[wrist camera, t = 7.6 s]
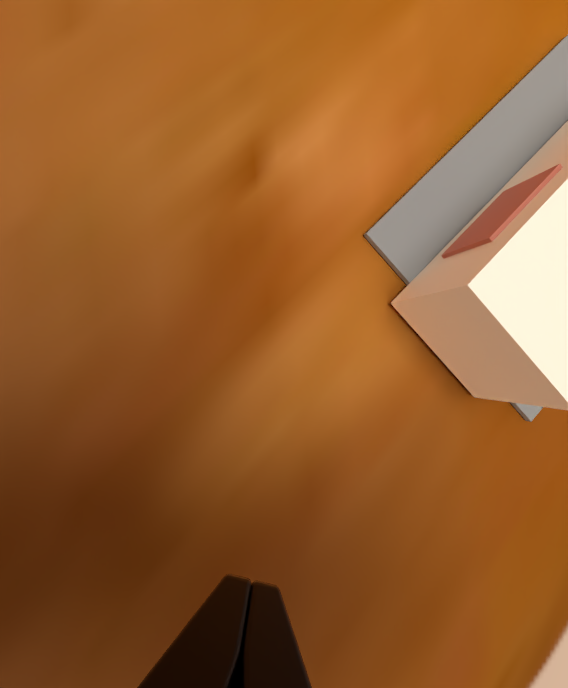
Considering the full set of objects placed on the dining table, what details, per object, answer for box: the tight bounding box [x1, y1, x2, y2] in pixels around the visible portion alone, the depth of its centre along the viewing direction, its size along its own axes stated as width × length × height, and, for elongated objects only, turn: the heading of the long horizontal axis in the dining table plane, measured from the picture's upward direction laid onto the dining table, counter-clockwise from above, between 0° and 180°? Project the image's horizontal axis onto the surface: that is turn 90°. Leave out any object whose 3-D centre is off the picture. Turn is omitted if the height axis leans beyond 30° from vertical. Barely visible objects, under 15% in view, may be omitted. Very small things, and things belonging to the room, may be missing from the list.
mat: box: [363, 35, 568, 421], centre depth 21 cm, size 13×10×1 cm
